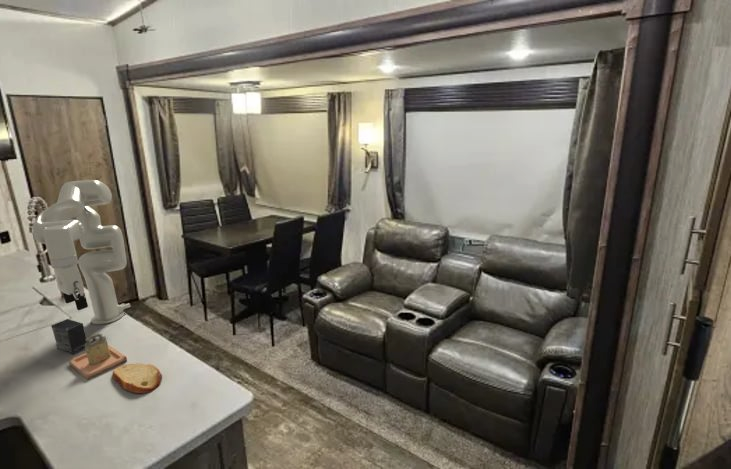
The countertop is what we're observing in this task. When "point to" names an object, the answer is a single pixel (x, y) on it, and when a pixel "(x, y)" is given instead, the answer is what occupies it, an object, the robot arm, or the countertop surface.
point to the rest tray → (93, 370)
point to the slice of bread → (138, 377)
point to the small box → (69, 336)
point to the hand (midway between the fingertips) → (76, 305)
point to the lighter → (97, 349)
